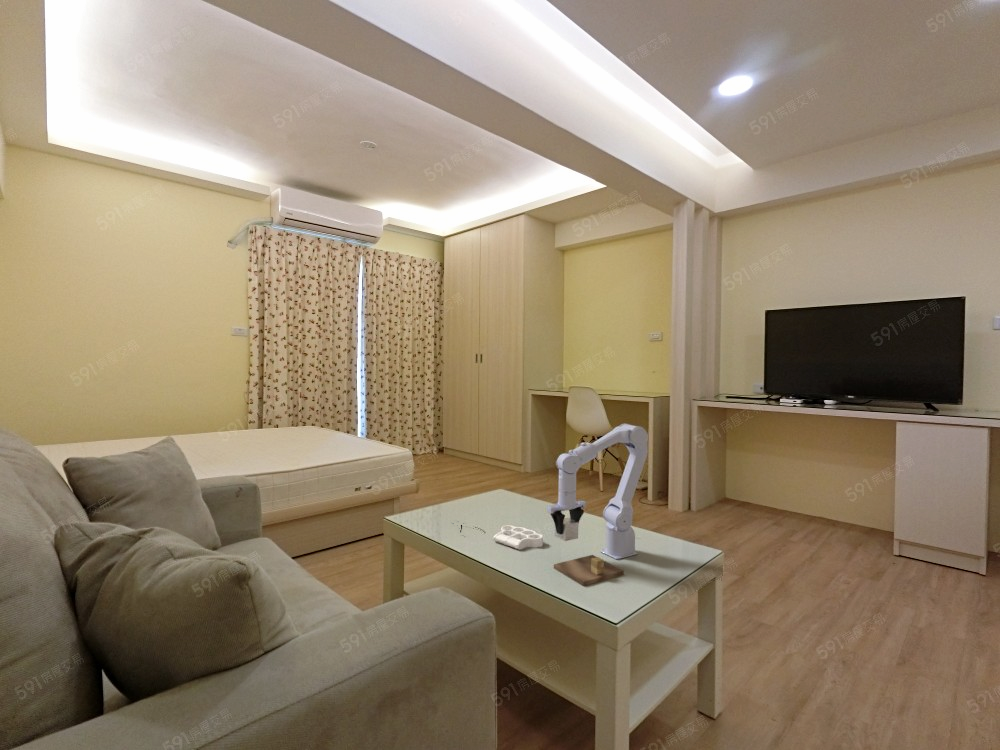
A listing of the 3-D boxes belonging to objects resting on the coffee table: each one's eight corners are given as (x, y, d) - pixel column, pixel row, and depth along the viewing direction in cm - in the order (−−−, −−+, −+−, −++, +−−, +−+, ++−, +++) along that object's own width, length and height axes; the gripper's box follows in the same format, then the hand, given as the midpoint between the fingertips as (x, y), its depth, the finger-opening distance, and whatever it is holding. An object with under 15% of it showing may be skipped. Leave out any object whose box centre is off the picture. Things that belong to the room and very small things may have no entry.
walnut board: (592, 558, 155) (592, 542, 155) (623, 574, 143) (623, 557, 143) (553, 568, 147) (554, 551, 147) (583, 586, 135) (583, 568, 135)
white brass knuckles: (486, 541, 171) (513, 531, 182) (524, 554, 159) (550, 543, 169) (486, 531, 171) (513, 522, 182) (525, 544, 159) (550, 534, 169)
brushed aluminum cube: (567, 533, 158) (567, 517, 158) (578, 538, 153) (578, 522, 153) (554, 536, 155) (555, 520, 155) (565, 541, 151) (565, 524, 151)
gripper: (576, 485, 161) (575, 525, 161) (542, 490, 154) (541, 531, 154) (590, 490, 155) (589, 531, 155) (555, 495, 148) (554, 538, 148)
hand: (566, 532), depth 154 cm, fingers closed on brushed aluminum cube, 5 cm apart
